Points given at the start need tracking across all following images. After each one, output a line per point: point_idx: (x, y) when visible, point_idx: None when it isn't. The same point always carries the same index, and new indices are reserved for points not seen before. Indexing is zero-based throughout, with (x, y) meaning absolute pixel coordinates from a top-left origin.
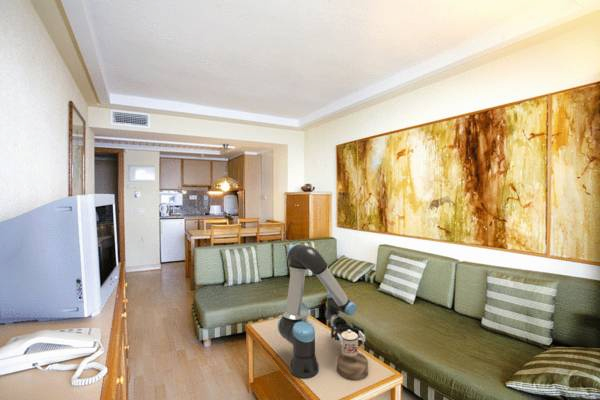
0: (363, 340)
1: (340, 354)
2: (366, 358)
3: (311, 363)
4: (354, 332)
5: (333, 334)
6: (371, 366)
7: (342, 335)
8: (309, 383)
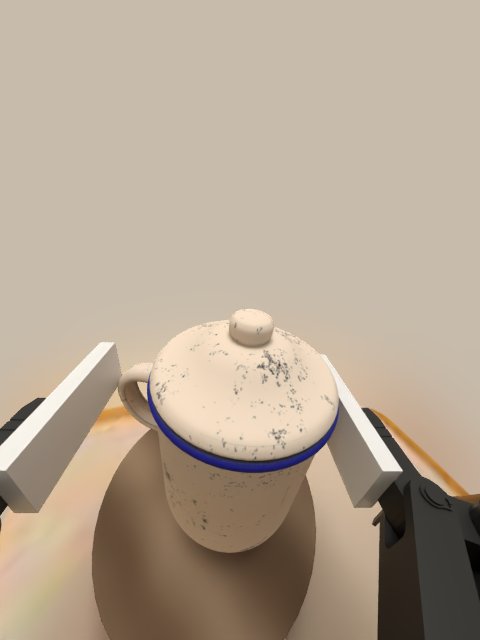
0: (117, 380)
1: (280, 628)
2: (113, 479)
3: (476, 499)
4: (165, 374)
5: (468, 520)
6: (70, 540)
7: (321, 363)
8: (413, 464)
